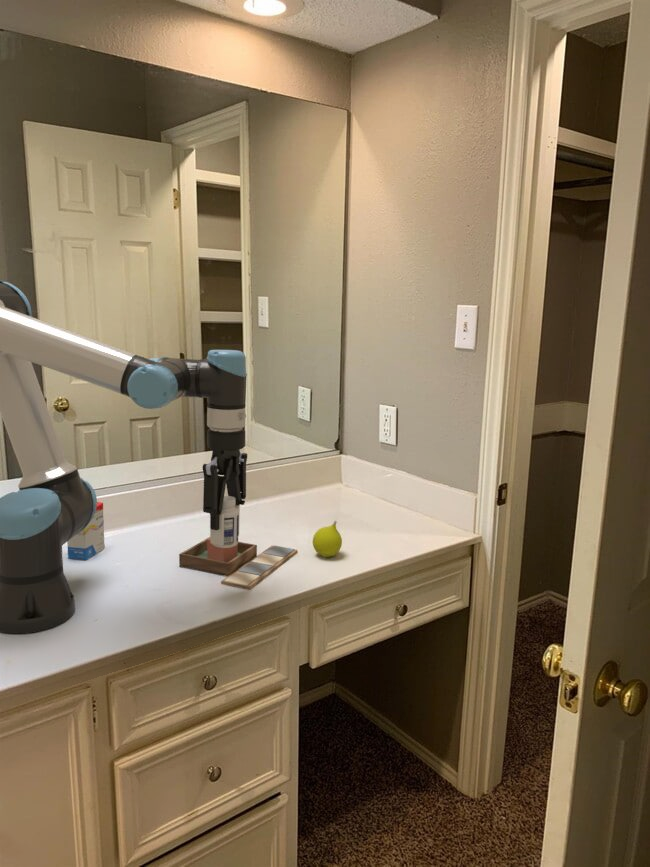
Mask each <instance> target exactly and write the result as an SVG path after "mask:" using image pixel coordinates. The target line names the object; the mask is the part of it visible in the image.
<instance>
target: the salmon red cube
mask: <svg viewBox="0 0 650 867" xmlns="http://www.w3.org/2000/svg"><path fill="white" fill-rule="evenodd" d="M207 538H208V539H207ZM207 538H206V539H207V558H208V559H213V560H218V561H223V562H229V561H231V560H232V559H234V558H235V557H237V556H238V544H237V545H236V546H234V547H230V548H219V547H216V546H214V545H213V544H211V543H210V538H209V537H207Z"/></svg>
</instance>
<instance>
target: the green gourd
mask: <svg viewBox="0 0 650 867" xmlns="http://www.w3.org/2000/svg"><path fill="white" fill-rule="evenodd" d="M337 520H338V519H336V520H334V521H333V523H332V524H331V525H329V526H324V527H321V528H319V529H318V530H316V532H315V533H314V534H313V538H312V547H313V549H314V550H315V552H316V553H317V554H318V555H319V556H322V557H328V558H329V557H333V556H335V555H337V554H338V553H339V551H340V550H341V549H342V545H343V538H342V536H341V534H340V532H339V531H338V529H337Z"/></svg>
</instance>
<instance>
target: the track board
mask: <svg viewBox="0 0 650 867" xmlns="http://www.w3.org/2000/svg"><path fill="white" fill-rule="evenodd" d="M296 554H298V549H295V548H291V547H286V546H279V545H270V547H268V548H266V549H265V550H263V551H262V552H260V554H257V556H256V557H255V558H253V559H252V560H251V561H249V562H248V563H246V564H245V565H243V566H242V567H241V568H239V569H238V570H236V571H235V572H233V573H232V574H231V575H229V576H225V578H224V579H221V581H220V584H221V585H224V586H225V585H226V586H230V587H234V588H240V589H244V590H252V588H254V587H255V586H256V585H258V584H259V583H260V582H261V581H263V580H264V579H265V578H266V577H268V576H269V575H271V574H272V573H273V572H274V571H275V570H277V569H278V568H280V567H281V566H282V565H283V564H285V563H286V562H287V561H289V560H290V559H291V558H292V557H293V556H295V555H296Z"/></svg>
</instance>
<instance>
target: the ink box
mask: <svg viewBox="0 0 650 867" xmlns="http://www.w3.org/2000/svg"><path fill="white" fill-rule="evenodd" d="M104 521H105V520H104V502H100V501H97V508H96V512H95V515H94V517H93V518H92V520H91V521H90V522H89V524H88V525H87V526H86V527H85V529H84V530H82V531H81V532H79V533H78V534H76V535H75V536H73V537H72V538H71V539H70V540H68V541H67V542H66V544H67V559H72V560H81V561H83V560H84V561H88V560H89V559H90V558H92V557H93V556H95V555H96V554H98V553H100V552H101V551H103V550H105V548H106V546H105V526H104V524H105V523H104Z"/></svg>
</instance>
